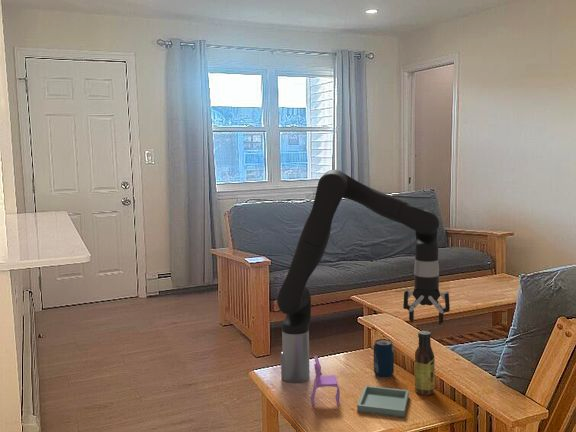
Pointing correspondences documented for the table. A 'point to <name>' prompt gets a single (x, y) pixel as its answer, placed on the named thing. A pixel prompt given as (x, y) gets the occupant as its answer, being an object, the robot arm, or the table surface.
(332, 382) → the chair
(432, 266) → the robot arm
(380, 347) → the soda can
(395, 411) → the tray
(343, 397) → the table surface
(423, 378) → the sauce bottle
